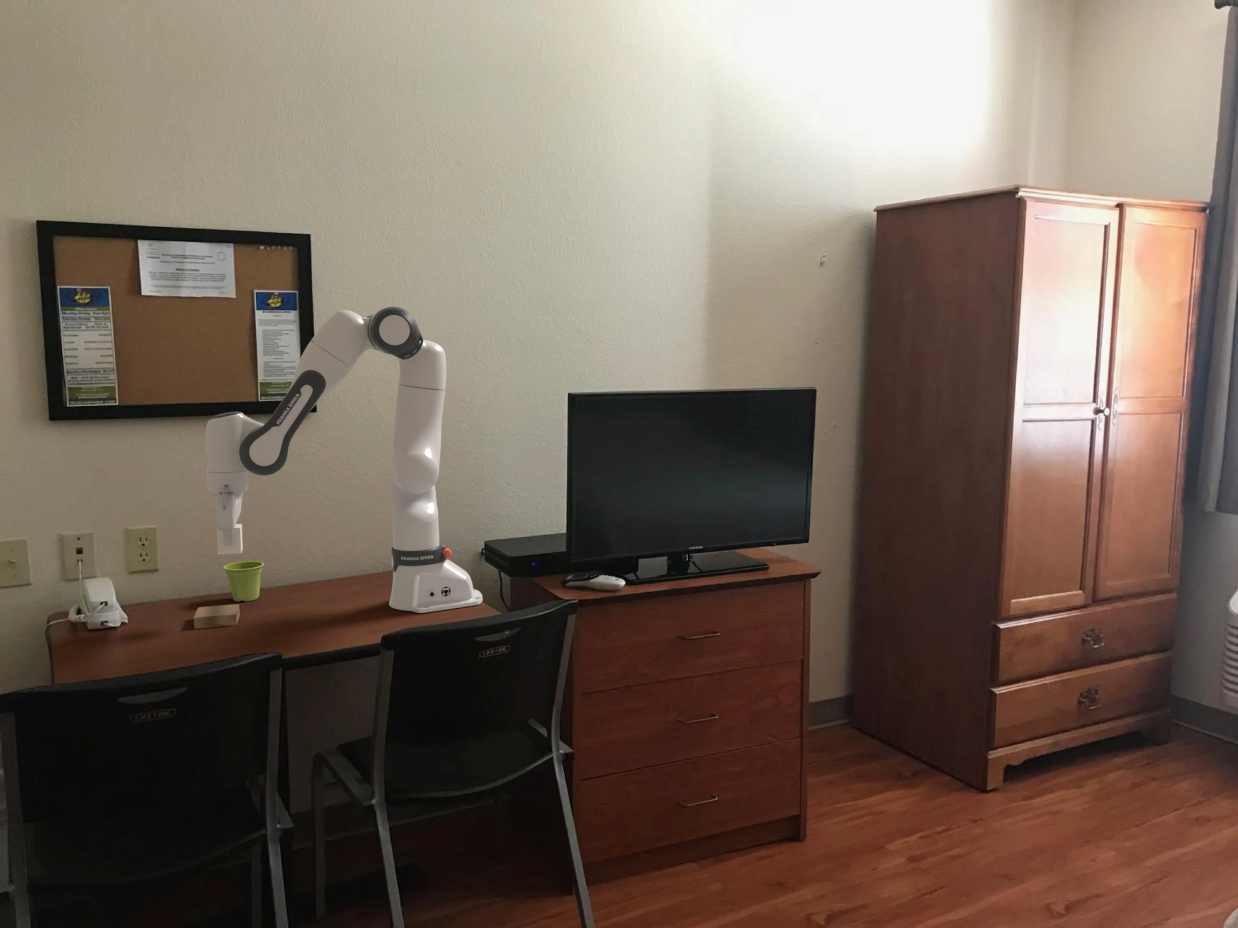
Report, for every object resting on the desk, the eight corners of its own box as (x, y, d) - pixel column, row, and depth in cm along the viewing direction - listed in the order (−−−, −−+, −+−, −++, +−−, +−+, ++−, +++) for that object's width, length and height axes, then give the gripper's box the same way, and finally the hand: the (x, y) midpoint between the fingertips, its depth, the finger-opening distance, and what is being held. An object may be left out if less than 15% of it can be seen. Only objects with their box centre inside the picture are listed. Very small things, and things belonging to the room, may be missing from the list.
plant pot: (218, 599, 255) (216, 565, 253) (253, 592, 262) (251, 559, 260) (238, 606, 249) (235, 571, 247) (273, 597, 256) (270, 564, 254)
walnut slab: (239, 616, 241) (239, 603, 241) (236, 626, 233) (235, 614, 232) (199, 619, 239) (198, 607, 238) (194, 630, 230) (193, 617, 230)
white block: (242, 549, 238) (241, 523, 238) (241, 553, 234) (240, 527, 233) (219, 550, 237) (218, 524, 236) (217, 554, 232) (216, 528, 232)
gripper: (238, 489, 224) (241, 550, 226) (245, 476, 244) (247, 533, 246) (208, 489, 223) (210, 551, 224) (217, 477, 242) (219, 534, 244)
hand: (230, 541), depth 235 cm, fingers closed on white block, 5 cm apart
